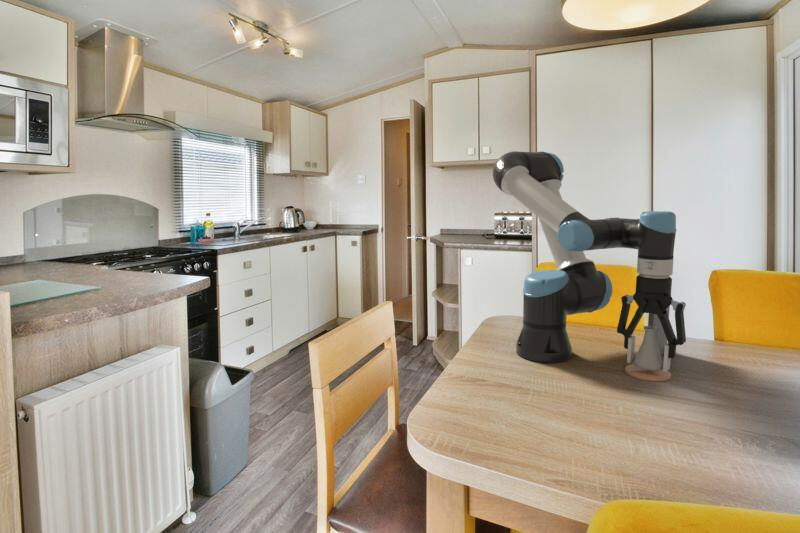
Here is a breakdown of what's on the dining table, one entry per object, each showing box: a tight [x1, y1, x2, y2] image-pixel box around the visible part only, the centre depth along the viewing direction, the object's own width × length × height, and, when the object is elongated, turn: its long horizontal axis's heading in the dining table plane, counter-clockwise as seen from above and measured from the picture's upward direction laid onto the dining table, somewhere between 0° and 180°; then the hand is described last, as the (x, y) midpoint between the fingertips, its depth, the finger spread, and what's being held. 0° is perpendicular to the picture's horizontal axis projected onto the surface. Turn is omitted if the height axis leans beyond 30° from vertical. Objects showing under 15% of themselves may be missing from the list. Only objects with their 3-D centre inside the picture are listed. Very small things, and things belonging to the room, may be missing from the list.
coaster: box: [624, 363, 672, 383], centre depth 111 cm, size 10×10×1 cm
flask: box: [632, 325, 664, 371], centre depth 110 cm, size 7×7×10 cm
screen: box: [647, 305, 671, 356], centre depth 121 cm, size 5×14×14 cm, turn 135°
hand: (647, 365), depth 111 cm, fingers closed on flask, 7 cm apart
